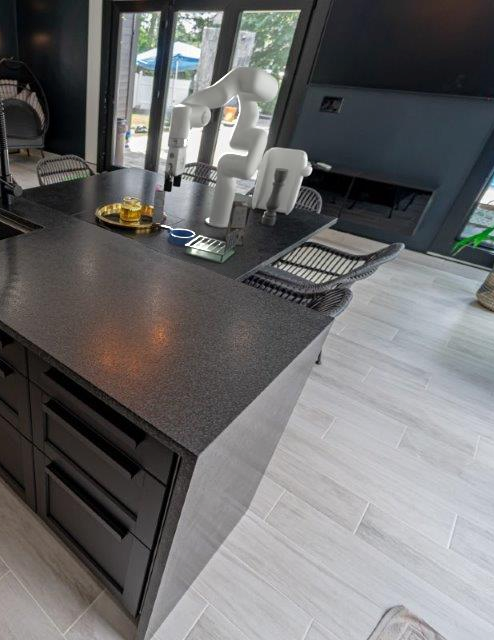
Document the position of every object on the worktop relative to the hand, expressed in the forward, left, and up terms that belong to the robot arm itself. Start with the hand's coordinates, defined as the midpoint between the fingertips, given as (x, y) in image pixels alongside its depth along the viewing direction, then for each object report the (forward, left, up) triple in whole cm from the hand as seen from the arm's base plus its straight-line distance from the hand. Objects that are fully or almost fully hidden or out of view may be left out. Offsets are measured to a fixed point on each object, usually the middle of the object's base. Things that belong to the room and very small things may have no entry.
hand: (171, 189), depth 163 cm
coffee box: (-18, +24, -22) cm, 37 cm away
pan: (-3, +1, -21) cm, 22 cm away
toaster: (-77, +24, -22) cm, 84 cm away
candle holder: (-52, +29, -22) cm, 64 cm away
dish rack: (+2, +21, -22) cm, 30 cm away
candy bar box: (-18, -14, -22) cm, 32 cm away
